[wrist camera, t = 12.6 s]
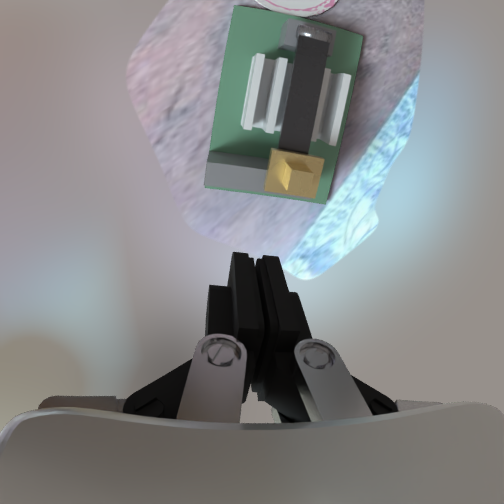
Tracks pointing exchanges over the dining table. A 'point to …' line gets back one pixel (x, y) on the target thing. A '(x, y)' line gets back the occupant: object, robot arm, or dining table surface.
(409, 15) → the dining table surface
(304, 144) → the strap
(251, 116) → the board
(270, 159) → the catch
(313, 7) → the teacup
